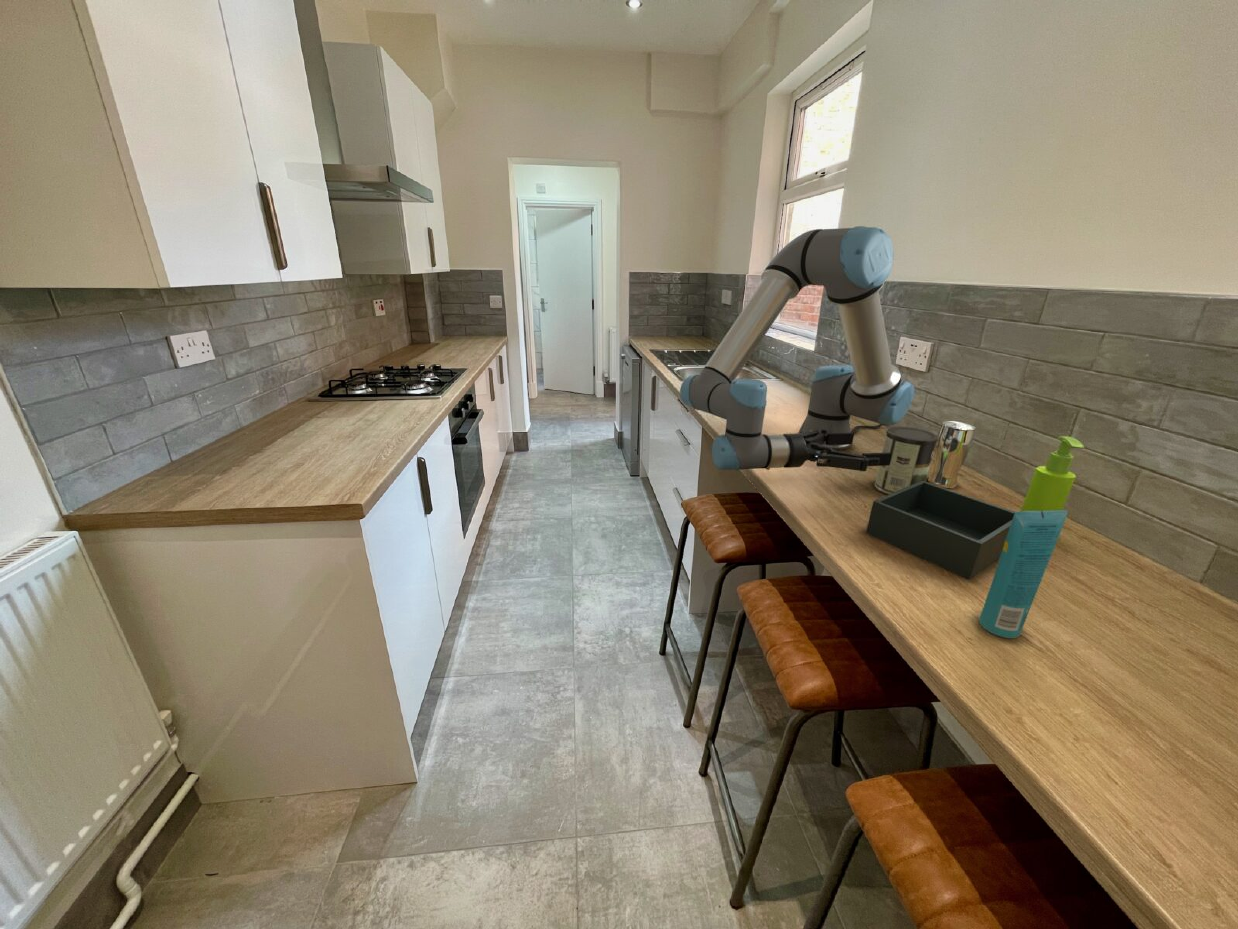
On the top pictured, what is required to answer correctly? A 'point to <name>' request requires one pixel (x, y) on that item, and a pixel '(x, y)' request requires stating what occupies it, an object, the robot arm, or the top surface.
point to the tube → (1020, 570)
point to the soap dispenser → (1052, 479)
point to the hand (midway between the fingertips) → (870, 448)
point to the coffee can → (905, 458)
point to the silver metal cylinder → (951, 453)
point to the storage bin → (942, 527)
